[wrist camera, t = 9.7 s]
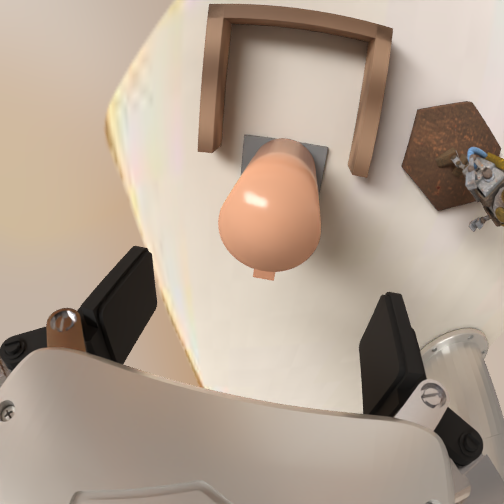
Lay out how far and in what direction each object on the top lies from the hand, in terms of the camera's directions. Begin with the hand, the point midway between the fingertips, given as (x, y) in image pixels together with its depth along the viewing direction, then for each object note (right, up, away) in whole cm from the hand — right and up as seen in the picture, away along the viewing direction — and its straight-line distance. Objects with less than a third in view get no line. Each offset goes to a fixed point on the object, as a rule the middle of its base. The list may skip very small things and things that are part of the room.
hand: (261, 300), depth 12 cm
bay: (+3, +15, +10) cm, 18 cm away
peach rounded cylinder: (+2, +8, +14) cm, 16 cm away
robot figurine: (+18, +11, +10) cm, 23 cm away
